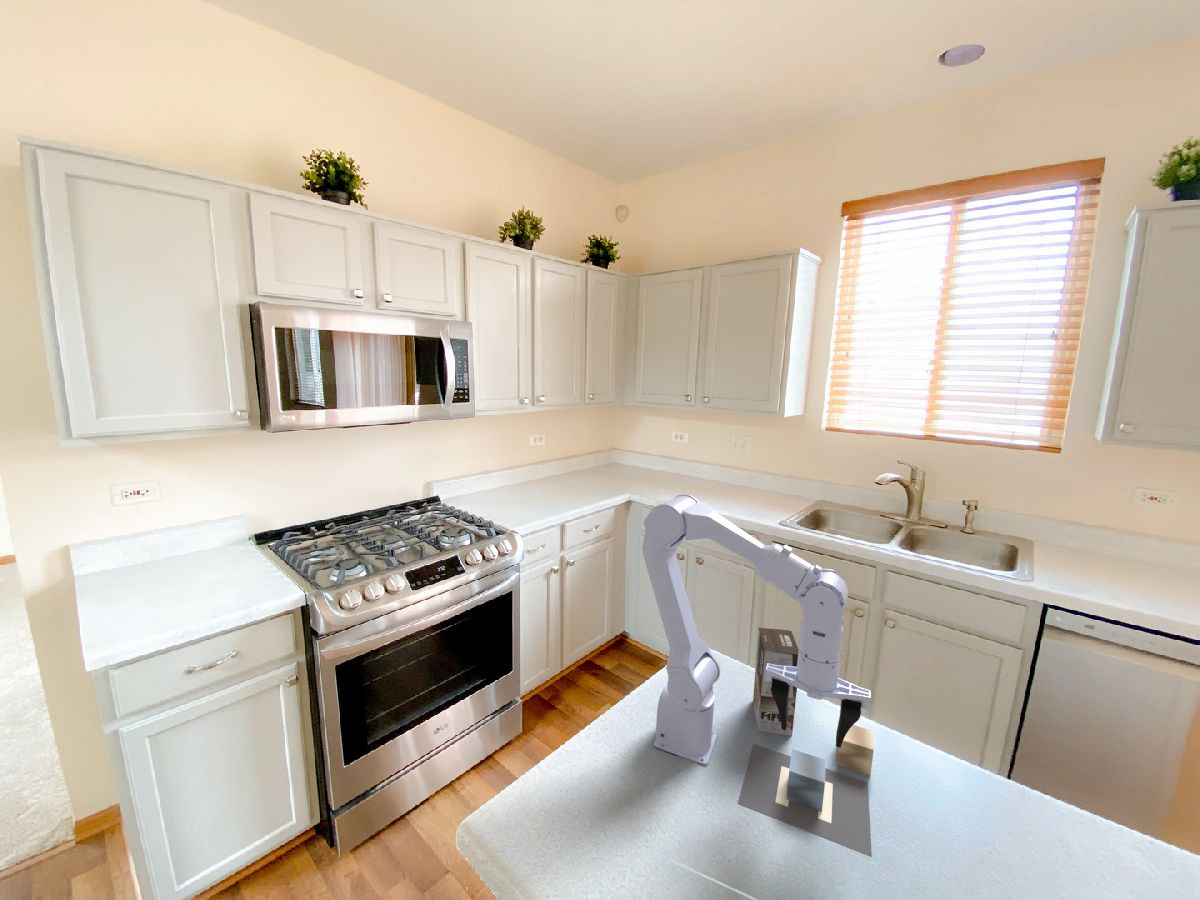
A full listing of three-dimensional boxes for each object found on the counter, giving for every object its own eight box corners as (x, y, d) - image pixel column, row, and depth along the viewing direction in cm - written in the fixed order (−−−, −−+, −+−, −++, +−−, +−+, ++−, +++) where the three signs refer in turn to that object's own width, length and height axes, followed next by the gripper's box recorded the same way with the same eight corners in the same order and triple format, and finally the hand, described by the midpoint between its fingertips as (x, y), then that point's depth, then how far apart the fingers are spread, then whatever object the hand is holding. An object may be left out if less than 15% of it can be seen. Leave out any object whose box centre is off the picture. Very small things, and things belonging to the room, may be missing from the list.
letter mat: (737, 804, 76) (737, 803, 76) (753, 744, 88) (753, 743, 88) (871, 857, 68) (871, 856, 68) (867, 783, 80) (867, 782, 80)
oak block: (836, 765, 84) (839, 739, 83) (837, 746, 88) (840, 721, 88) (870, 777, 82) (873, 749, 81) (869, 756, 86) (872, 730, 85)
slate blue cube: (786, 799, 77) (789, 770, 76) (789, 776, 81) (791, 748, 80) (821, 812, 74) (825, 782, 74) (822, 787, 79) (825, 759, 78)
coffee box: (793, 737, 90) (801, 655, 88) (756, 731, 91) (763, 650, 89) (785, 705, 99) (792, 629, 96) (752, 700, 100) (758, 625, 98)
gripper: (764, 652, 74) (757, 734, 76) (875, 681, 68) (864, 770, 70) (771, 631, 80) (764, 707, 82) (873, 655, 74) (863, 737, 76)
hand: (810, 734), depth 76 cm, fingers open, 7 cm apart
